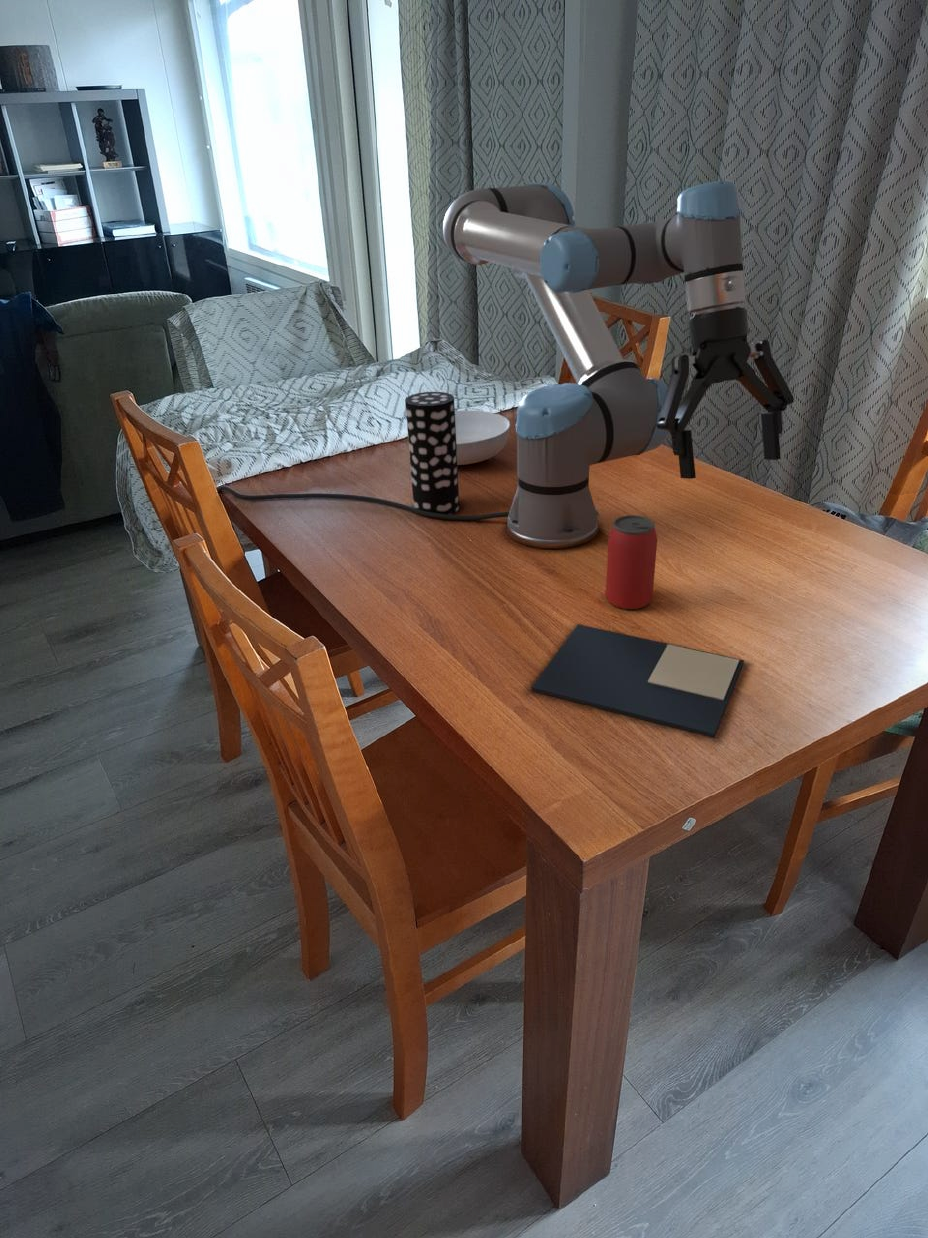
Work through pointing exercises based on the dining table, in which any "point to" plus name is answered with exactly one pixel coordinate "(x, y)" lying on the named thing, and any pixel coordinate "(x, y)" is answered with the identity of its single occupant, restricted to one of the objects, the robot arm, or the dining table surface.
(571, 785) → the dining table surface
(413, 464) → the spotted tube
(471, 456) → the serving bowl
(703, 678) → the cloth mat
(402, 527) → the dining table surface
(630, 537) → the beer can
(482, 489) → the dining table surface
